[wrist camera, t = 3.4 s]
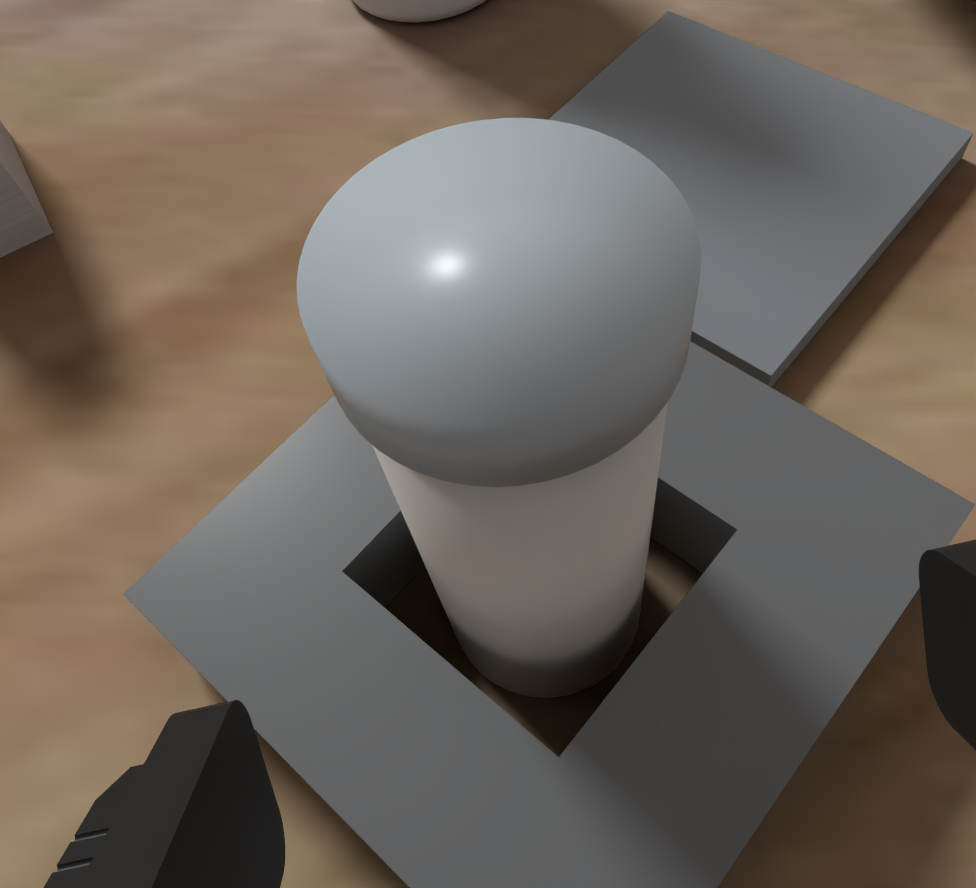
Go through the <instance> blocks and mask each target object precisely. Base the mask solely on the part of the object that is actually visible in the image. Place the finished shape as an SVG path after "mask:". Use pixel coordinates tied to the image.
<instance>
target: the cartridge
mask: <svg viewBox="0 0 976 888" xmlns="http://www.w3.org/2000/svg"><path fill="white" fill-rule="evenodd" d="M700 274H701V247H700V241H699V235H698V230H697V227H696V224H695V221H694V218H693V216H692V213H691V210H690V209H689V207H688V205H687V203H686V201H685V200H684V198H683V196H682V194H681V193H680V191H679V190H678V189H677V187H676V186H675V185H674V184H673V182H672V181H671V180H670V178H669V177H668V176H667V175H666V174H665V173H664V172H663V171H662V170H661V169H659V168H658V167H657V166H656V165H655V164H654V163H653V162H652V161H650V160H649V159H648V158H646V157H645V156H644V155H642V154H641V153H640V152H638V151H637V150H635V149H633V148H632V147H630V146H628V145H626V144H624V143H623V142H621V141H619V140H617V139H615V138H612V137H610V136H608V135H605V134H603V133H600V132H598V131H595V130H592V129H588V128H585V127H582V126H578V125H575V124H570V123H564V122H559V121H554V120H545V119H534V118H499V119H488V120H479V121H474V122H468V123H462V124H457V125H454V126H450V127H446V128H443V129H439V130H435V131H433V132H430V133H427V134H425V135H422V136H419V137H417V138H414V139H412V140H410V141H408V142H405V143H403V144H401V145H399V146H397V147H395V148H393V149H391V150H390V151H388V152H386V153H385V154H383V155H381V156H380V157H378V158H376V159H375V160H373V161H372V162H370V163H369V164H368V165H366V166H365V167H364V168H362V169H361V170H360V171H359V172H357V173H356V174H355V175H354V176H353V177H351V178H350V179H349V180H348V181H347V182H346V183H345V184H344V185H343V186H342V187H341V188H340V189H339V190H338V191H337V192H336V193H335V195H334V196H333V197H332V198H331V199H330V201H329V202H328V203H327V204H326V205H325V207H324V208H323V210H322V211H321V213H320V215H319V216H318V218H317V219H316V221H315V222H314V224H313V226H312V228H311V230H310V233H309V235H308V237H307V239H306V241H305V244H304V247H303V251H302V254H301V257H300V261H299V268H298V275H297V302H298V307H299V311H300V316H301V321H302V323H303V326H304V329H305V331H306V334H307V336H308V339H309V341H310V343H311V345H312V347H313V350H314V352H315V354H316V356H317V358H318V360H319V362H320V365H321V367H322V369H323V371H324V373H325V375H326V377H327V380H328V382H329V384H330V386H331V388H332V390H333V392H334V395H335V397H336V399H337V401H338V403H339V405H340V406H341V408H342V410H343V411H344V413H345V415H346V416H347V418H348V420H349V421H350V422H351V423H352V425H353V426H354V427H355V428H356V429H357V430H358V432H359V433H360V434H361V435H362V436H363V437H364V438H365V439H366V440H367V441H368V442H370V443H371V444H372V446H373V448H374V450H375V453H376V455H377V457H378V460H379V462H380V464H381V466H382V469H383V471H384V473H385V476H386V478H387V480H388V482H389V485H390V487H391V489H392V491H393V494H394V496H395V498H396V501H397V503H398V505H399V507H400V510H401V512H402V514H403V516H404V519H405V521H406V523H407V526H408V528H409V530H410V532H411V535H412V537H413V539H414V542H415V544H416V546H417V548H418V551H419V553H420V555H421V557H422V560H423V562H424V564H425V567H426V569H427V571H428V573H429V576H430V578H431V580H432V583H433V585H434V587H435V589H436V592H437V594H438V596H439V598H440V601H441V603H442V605H443V608H444V610H445V612H446V614H447V617H448V619H449V621H450V624H451V626H452V628H453V630H454V633H455V635H456V637H457V639H458V642H459V644H460V646H461V648H462V650H463V652H464V653H465V655H466V657H467V658H468V659H469V661H470V662H471V663H472V664H473V666H474V667H475V668H476V669H477V670H478V671H479V672H480V673H481V674H482V675H483V676H485V677H486V678H487V679H489V680H490V681H491V682H493V683H494V684H496V685H498V686H500V687H502V688H504V689H506V690H508V691H511V692H514V693H516V694H520V695H525V696H529V697H538V698H555V697H561V696H567V695H571V694H574V693H577V692H580V691H583V690H585V689H587V688H589V687H591V686H593V685H595V684H596V683H598V682H600V681H601V680H603V679H604V678H605V677H606V676H607V675H609V674H610V673H611V672H612V671H613V670H614V669H615V668H616V667H617V666H618V665H619V664H620V663H621V661H622V660H623V658H624V657H625V655H626V654H627V652H628V651H629V649H630V647H631V645H632V643H633V641H634V638H635V635H636V632H637V629H638V623H639V618H640V611H641V603H642V595H643V588H644V580H645V572H646V565H647V557H648V549H649V542H650V534H651V526H652V519H653V511H654V503H655V496H656V488H657V480H658V473H659V465H660V457H661V450H662V442H663V434H664V427H665V419H666V411H667V404H668V401H669V399H670V397H671V396H672V394H673V392H674V390H675V388H676V386H677V385H678V383H679V381H680V378H681V375H682V372H683V369H684V367H685V364H686V361H687V355H688V350H689V344H690V339H691V332H692V326H693V319H694V313H695V306H696V300H697V293H698V287H699V280H700Z"/></svg>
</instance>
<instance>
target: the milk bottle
mask: <svg viewBox="0 0 976 888" xmlns="http://www.w3.org/2000/svg"><path fill="white" fill-rule="evenodd" d="M352 1H353V2H354V3H355V4H357V5H358V6H359V7H360V8H361V9H362V10H364V11H366V12H368V13H370V14H371V15H373V16H377V17H380V18H383V19H386V20H392V21H398V22H426V21H436V20H440V19H444V18H449V17H453V16H455V15H458V14H461V13H464V12H467V11H469V10H471V9H473V8H474V7H476V6H478V5H480V4H482V3H484V2H485V1H486V0H352Z"/></svg>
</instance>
